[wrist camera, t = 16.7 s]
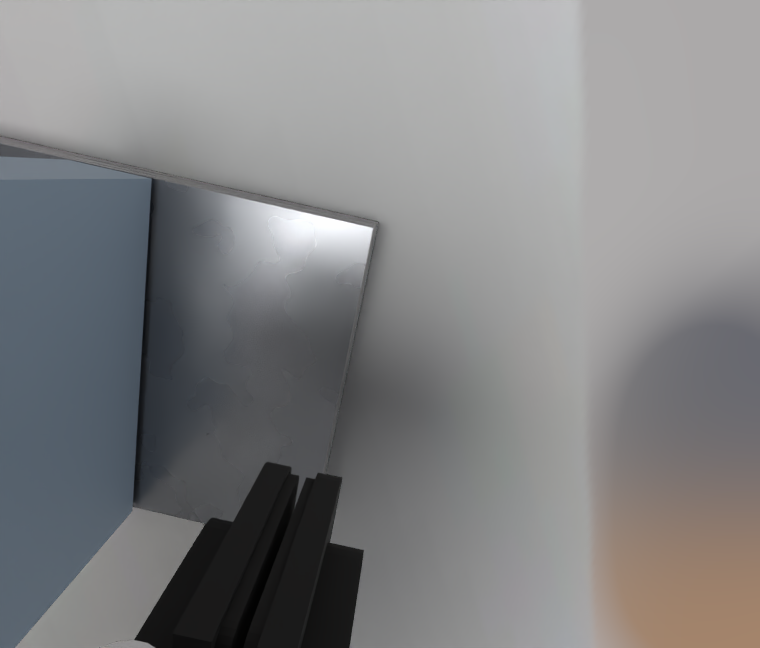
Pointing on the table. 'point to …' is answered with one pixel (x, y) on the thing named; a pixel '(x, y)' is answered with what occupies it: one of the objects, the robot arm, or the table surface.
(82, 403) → the vise jaw
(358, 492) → the table surface
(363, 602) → the table surface
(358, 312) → the vise base
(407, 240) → the table surface
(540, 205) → the table surface
